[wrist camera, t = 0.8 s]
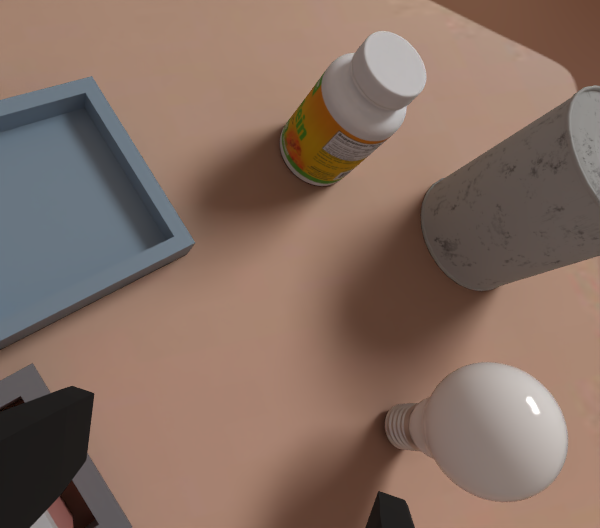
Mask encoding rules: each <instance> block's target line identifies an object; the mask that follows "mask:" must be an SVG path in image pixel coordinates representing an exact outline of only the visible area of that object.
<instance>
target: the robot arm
mask: <svg viewBox="0 0 600 528" xmlns="http://www.w3.org/2000/svg"><path fill="white" fill-rule="evenodd" d="M93 400H94V393H92V392H89V391H86V390H83V389H80V388H77V387H74V386H71V387H67V388H64V389H61V390H58V391H55V392H53V393H50V394H47V395H44V396H42V397H39V398H36V399H34V400H31V401H28V402H26V403H23V404H20V405H18V406H15V407H12V408H9V409H7V410H4V411H1V412H0V528H30V527H31V526H32V525H33V524H34V523H35V522H36V521H37V520H38V519H39V518H40V517H41V516H42V515H43V514H44V512H45V511H46V510H47V509H48V508H49V507H50V506H51V505H52V504H53V503H54V502H55V501H56V500H57V499H58V497H59V496H60V495H61V494H62V492H63V491H64V490H65V488H66V487H67V486H68V485H69V483H70V482H71V481H72V479H73V478H74V477H75V475H76V474H77V473H78V471H79V470H80V468H81V467H82V466H83V464H84V463H85V462H86V459H87V450H88V442H89V433H90V425H91V417H92V408H93ZM366 528H415V527H414V524H413V521H412V518H411V514H410V511H409V508H408V505H407V503H406V501H405V500H403V499H400V498H397V497H394V496H392V495H389V494H386V493H383V492H380V491H378V494H377V497H376V499H375V502H374V505H373V508H372V511H371V514H370V516H369V519H368V522H367V525H366Z"/></svg>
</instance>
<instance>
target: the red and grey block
mask: <svg viewBox="0 0 600 528" xmlns="http://www.w3.org/2000/svg"><path fill="white" fill-rule="evenodd" d="M30 528H73V515H72V513H71V512H70V510H69V508H68V507H67V505H66V504H65V502H64V500H63V499H62V497H61V495H60V496H59V497H58V499H57V500H56V501H55V502H54V503H53V504H52V505H51V506H50V507H49V508H48V509H47V510H46V511H45V512H44V514H43V515H42V516H41V517H40V518H39V519H38V520H37V521H36V522H35V523H34V524H33V525H32V526H31V527H30Z"/></svg>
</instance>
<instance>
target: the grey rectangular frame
mask: <svg viewBox="0 0 600 528" xmlns="http://www.w3.org/2000/svg"><path fill="white" fill-rule="evenodd" d="M47 394H50V391H49V389H48V388H47V386H46V384H45V383H44V381H43V380H42V378H41V376H40V375H39V373H38V371H37V370H36V368H35V366H34V365H33V364H30V365H28V366H27V367H25V368H23V369H21V370H19V371H17V372H16V373H14V374H12V375H10V376H8V377H6V378H4V379H3V380H1V381H0V410H2V409H4V408H5V407H7V406H9V405H11V404H12V403H14V402H16V401H18V400H19V399H21V398H22V399H23V400H24V402H25V403H26V402H28V401H31V400H34V399H36V398H39V397H42V396H44V395H47ZM72 481H73V482H74V484H75V486H76V487H77V489H78V491H79V492H80V494H81V495H82V497H83V499H84V500H85V502H86V504H87V505H88V507H89V509H90V510H91V512H92V514H93V515H94V517H95V518H96V519H95V520H94V521H93V522H91V523H90V524H89V525H87V526H86V527H85V528H132V526H131V524H130V522H129V520H128V519H127V517H126V515H125V514H124V512H123V511H122V509H121V507H120V506H119V504H118V502H117V501H116V499H115V497H114V496H113V494H112V493H111V491H110V489H109V488H108V486H107V484H106V483H105V481H104V479H103V478H102V476H101V475H100V473H99V471H98V470H97V468H96V466H95V465H94V463H93V461H92V460H91V458H90V457H89V455H88V453H87V459H86V462H85V463H84V464H83V466H82V467H81V468H80V470H79V471H78V473H77V474H76V475H75V477H74V478H73V479H72Z"/></svg>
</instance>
